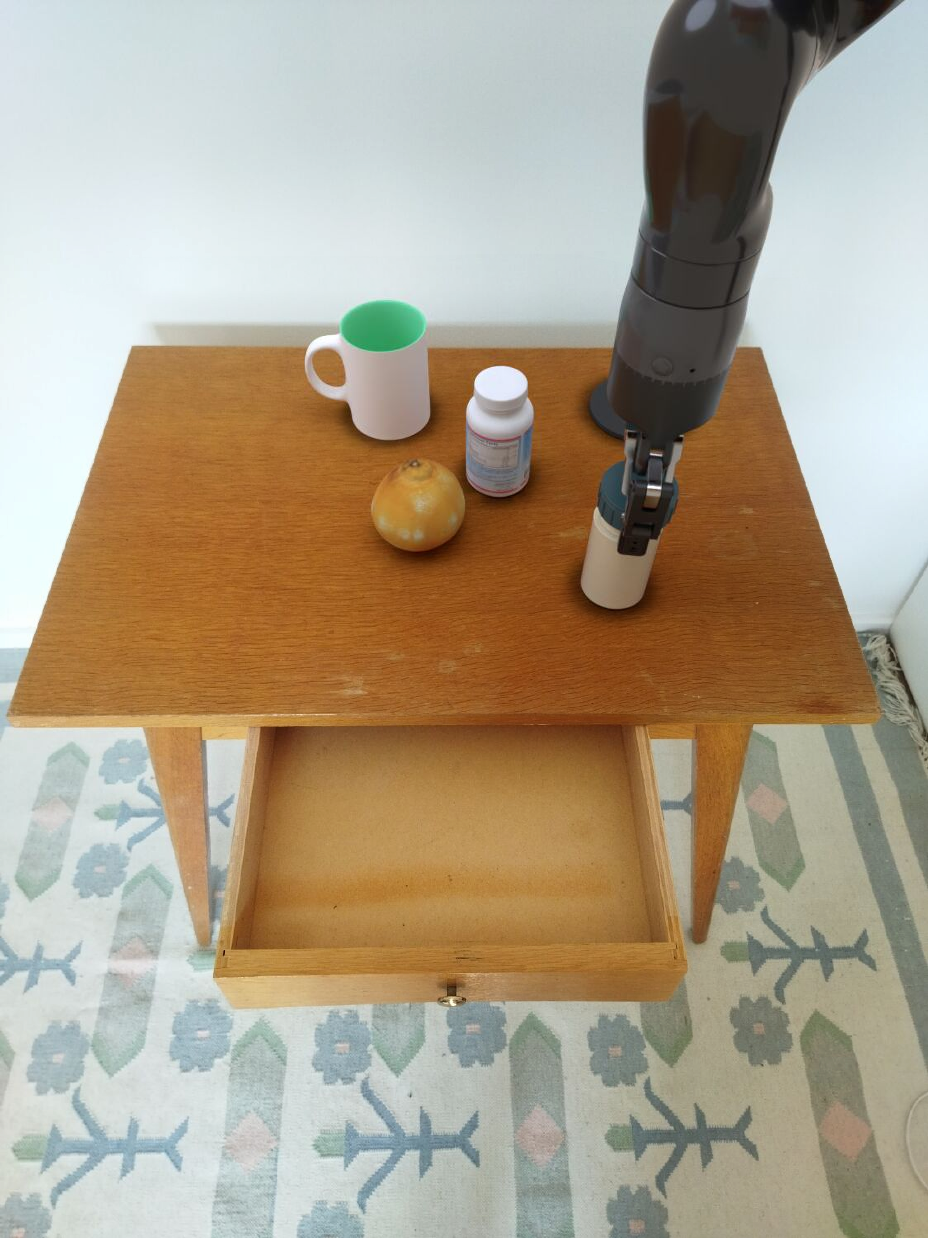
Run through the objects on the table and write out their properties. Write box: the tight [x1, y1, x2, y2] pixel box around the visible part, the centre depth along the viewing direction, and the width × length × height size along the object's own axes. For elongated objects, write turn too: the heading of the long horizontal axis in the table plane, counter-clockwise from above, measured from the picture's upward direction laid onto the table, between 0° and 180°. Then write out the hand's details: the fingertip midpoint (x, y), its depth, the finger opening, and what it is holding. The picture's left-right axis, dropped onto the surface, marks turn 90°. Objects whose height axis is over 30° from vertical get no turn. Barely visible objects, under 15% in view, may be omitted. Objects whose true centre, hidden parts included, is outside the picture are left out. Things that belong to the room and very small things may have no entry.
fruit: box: [370, 457, 466, 552], centre depth 73 cm, size 8×8×8 cm
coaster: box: [588, 379, 625, 441], centre depth 85 cm, size 10×10×1 cm
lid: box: [596, 459, 680, 531], centre depth 63 cm, size 6×6×2 cm
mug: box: [304, 299, 431, 441], centre depth 80 cm, size 12×8×10 cm
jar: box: [580, 506, 664, 610], centre depth 68 cm, size 6×6×10 cm
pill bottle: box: [465, 365, 535, 498], centre depth 75 cm, size 6×6×11 cm
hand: (631, 520), depth 65 cm, fingers closed on lid, 6 cm apart
